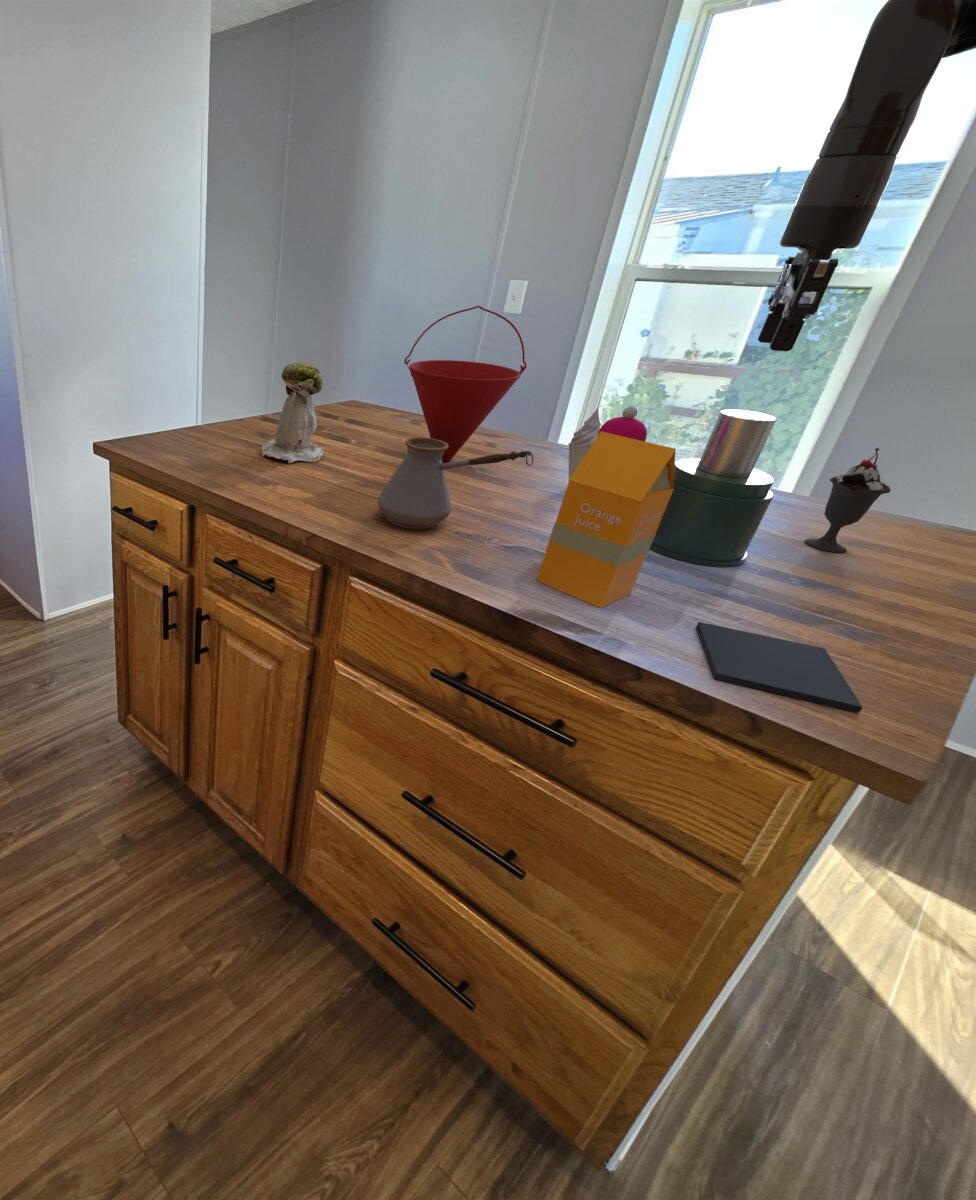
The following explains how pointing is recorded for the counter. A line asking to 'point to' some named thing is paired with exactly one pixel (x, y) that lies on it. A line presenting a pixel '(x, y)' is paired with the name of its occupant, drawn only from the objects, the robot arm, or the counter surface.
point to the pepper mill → (626, 425)
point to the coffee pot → (426, 484)
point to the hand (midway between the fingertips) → (772, 346)
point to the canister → (711, 516)
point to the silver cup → (736, 443)
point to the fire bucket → (459, 393)
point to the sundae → (850, 501)
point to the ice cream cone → (583, 441)
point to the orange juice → (608, 519)
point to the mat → (776, 666)
